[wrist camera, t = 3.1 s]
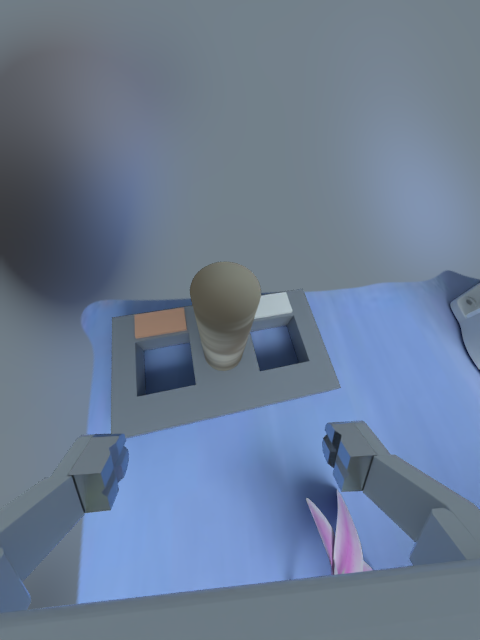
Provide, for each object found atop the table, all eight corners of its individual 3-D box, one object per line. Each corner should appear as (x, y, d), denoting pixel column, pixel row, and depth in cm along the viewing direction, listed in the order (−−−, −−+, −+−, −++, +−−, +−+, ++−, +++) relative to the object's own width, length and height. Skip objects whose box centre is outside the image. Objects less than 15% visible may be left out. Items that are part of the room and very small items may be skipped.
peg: (225, 326, 25) (230, 251, 14) (250, 353, 24) (275, 294, 13) (196, 349, 23) (175, 285, 13) (220, 379, 22) (221, 337, 12)
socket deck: (295, 300, 30) (303, 286, 27) (328, 391, 26) (342, 387, 23) (122, 328, 27) (110, 315, 24) (124, 439, 22) (108, 441, 19)
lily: (380, 688, 18) (540, 763, 12) (248, 768, 13) (399, 961, 7) (327, 495, 26) (404, 479, 20) (234, 501, 21) (298, 483, 15)
